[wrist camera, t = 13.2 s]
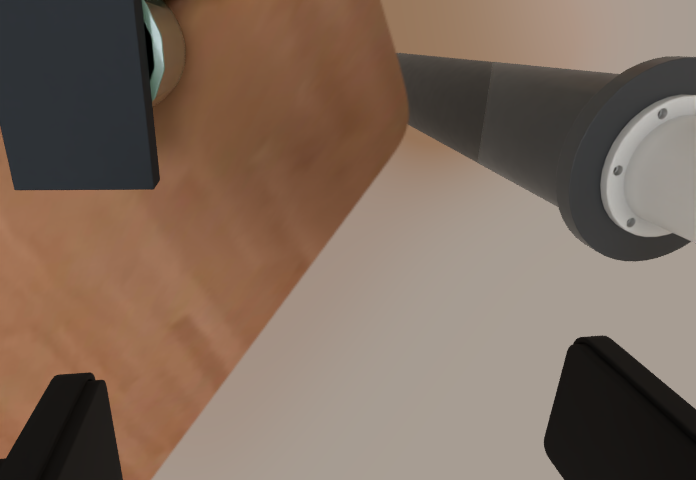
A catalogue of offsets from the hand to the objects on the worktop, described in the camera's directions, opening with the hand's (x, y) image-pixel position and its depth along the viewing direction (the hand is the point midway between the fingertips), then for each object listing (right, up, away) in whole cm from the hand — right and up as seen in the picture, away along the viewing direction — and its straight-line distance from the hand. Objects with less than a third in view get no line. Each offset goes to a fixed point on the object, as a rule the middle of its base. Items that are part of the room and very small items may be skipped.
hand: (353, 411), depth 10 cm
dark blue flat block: (-13, +13, +13) cm, 23 cm away
